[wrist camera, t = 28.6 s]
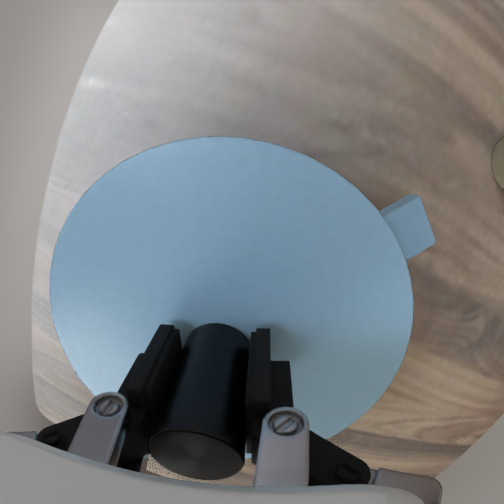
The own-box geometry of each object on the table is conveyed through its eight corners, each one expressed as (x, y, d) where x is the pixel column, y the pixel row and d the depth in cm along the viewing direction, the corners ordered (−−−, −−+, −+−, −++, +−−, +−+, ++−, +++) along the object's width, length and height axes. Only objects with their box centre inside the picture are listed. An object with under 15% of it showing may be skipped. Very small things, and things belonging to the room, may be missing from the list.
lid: (16, 264, 13) (-70, 321, 7) (296, 60, 10) (331, -33, 3) (188, 463, 17) (170, 543, 11) (433, 372, 14) (484, 461, 8)
